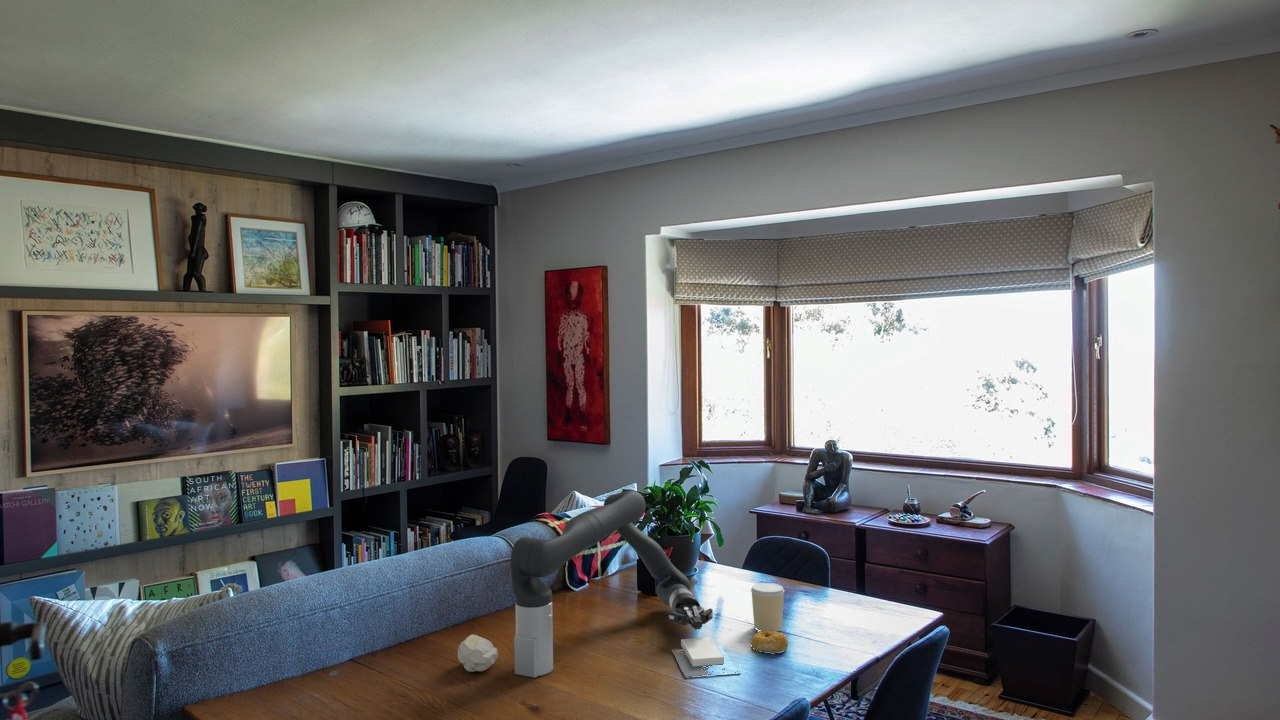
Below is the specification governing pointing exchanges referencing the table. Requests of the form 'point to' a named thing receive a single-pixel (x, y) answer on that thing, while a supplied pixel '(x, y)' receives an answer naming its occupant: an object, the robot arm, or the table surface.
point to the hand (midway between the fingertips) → (698, 625)
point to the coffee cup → (767, 606)
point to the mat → (690, 666)
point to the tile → (702, 652)
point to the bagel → (769, 641)
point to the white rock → (476, 653)
